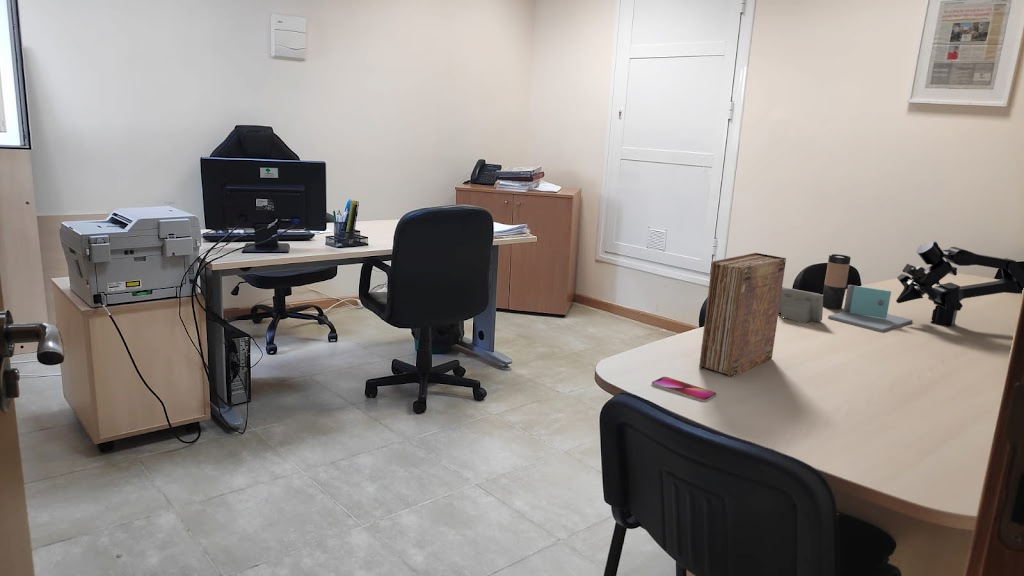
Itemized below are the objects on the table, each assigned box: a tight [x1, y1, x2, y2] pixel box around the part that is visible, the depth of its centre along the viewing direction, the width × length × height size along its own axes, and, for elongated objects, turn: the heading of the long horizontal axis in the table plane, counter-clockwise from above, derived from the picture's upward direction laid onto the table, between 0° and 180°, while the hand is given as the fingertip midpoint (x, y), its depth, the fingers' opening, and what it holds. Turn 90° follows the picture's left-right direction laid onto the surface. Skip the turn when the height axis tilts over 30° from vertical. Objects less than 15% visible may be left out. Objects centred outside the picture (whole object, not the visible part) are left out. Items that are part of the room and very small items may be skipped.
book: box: [698, 252, 787, 378], centre depth 194 cm, size 25×9×30 cm, turn 135°
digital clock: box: [778, 286, 824, 324], centre depth 249 cm, size 16×9×11 cm, turn 39°
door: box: [843, 284, 892, 319], centre depth 253 cm, size 14×3×10 cm, turn 58°
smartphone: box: [651, 376, 717, 403], centre depth 176 cm, size 7×1×15 cm
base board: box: [827, 310, 913, 333], centre depth 252 cm, size 19×24×3 cm
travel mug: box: [822, 253, 852, 310], centre depth 267 cm, size 8×8×20 cm
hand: (897, 302), depth 252 cm, fingers closed
